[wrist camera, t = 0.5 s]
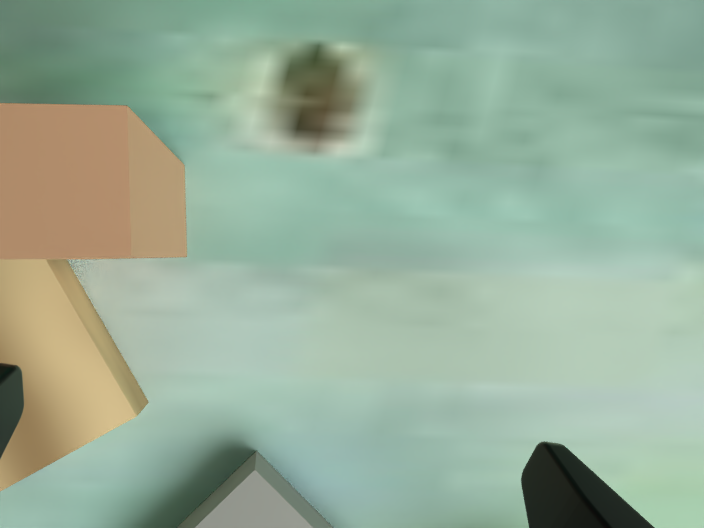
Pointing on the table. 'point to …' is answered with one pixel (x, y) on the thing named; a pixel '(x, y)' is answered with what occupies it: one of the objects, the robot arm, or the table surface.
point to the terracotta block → (87, 185)
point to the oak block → (58, 366)
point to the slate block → (255, 502)
